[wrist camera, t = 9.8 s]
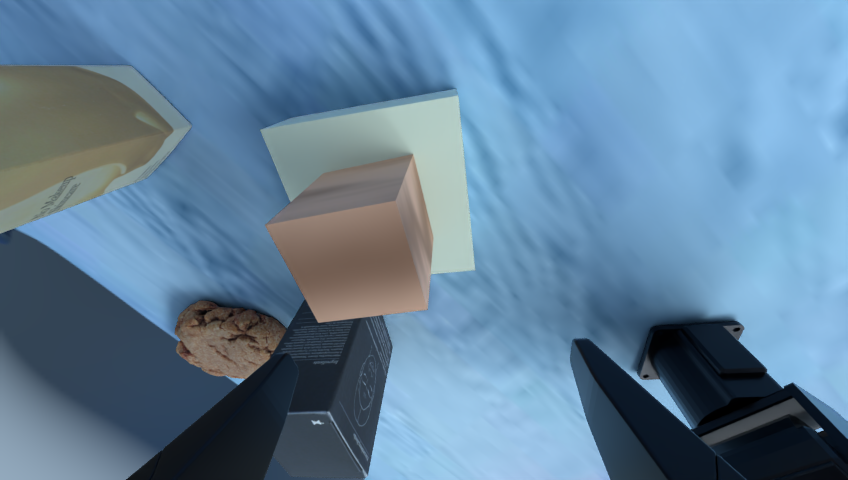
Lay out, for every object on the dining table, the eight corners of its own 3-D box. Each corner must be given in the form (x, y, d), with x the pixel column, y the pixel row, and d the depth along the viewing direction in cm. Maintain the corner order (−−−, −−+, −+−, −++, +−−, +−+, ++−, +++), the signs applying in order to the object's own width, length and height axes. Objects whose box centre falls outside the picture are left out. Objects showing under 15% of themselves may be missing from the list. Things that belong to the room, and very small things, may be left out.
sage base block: (471, 237, 22) (475, 270, 19) (342, 251, 24) (324, 283, 20) (456, 87, 17) (458, 95, 14) (294, 116, 19) (259, 129, 15)
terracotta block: (433, 237, 18) (427, 309, 13) (354, 250, 19) (318, 322, 13) (413, 154, 15) (395, 200, 10) (323, 173, 16) (264, 225, 11)
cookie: (313, 355, 30) (300, 383, 28) (230, 372, 33) (212, 398, 30) (253, 281, 26) (231, 306, 23) (162, 307, 28) (133, 332, 26)
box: (309, 288, 25) (232, 415, 16) (373, 282, 25) (330, 412, 16) (337, 350, 29) (288, 480, 20) (394, 347, 28) (369, 481, 19)
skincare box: (149, 179, 21) (-144, 298, 11) (85, 127, 19) (-335, 205, 9) (198, 122, 19) (-114, 202, 8) (131, 57, 17) (-360, 55, 7)
